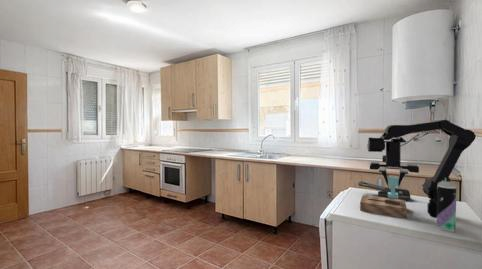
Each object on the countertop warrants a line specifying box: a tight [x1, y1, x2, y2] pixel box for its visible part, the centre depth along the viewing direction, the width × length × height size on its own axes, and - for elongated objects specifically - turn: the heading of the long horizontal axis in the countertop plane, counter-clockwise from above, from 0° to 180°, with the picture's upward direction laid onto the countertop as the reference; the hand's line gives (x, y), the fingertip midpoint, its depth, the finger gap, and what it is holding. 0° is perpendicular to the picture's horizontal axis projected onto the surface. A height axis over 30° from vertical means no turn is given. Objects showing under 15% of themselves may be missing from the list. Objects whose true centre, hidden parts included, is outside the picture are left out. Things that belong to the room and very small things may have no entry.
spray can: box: [436, 177, 457, 233], centre depth 89 cm, size 6×6×20 cm
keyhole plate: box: [359, 194, 408, 219], centre depth 110 cm, size 18×13×4 cm
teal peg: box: [387, 175, 399, 199], centre depth 108 cm, size 4×4×9 cm
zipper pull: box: [357, 180, 411, 202], centre depth 130 cm, size 9×7×25 cm
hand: (393, 185), depth 108 cm, fingers closed on teal peg, 4 cm apart
